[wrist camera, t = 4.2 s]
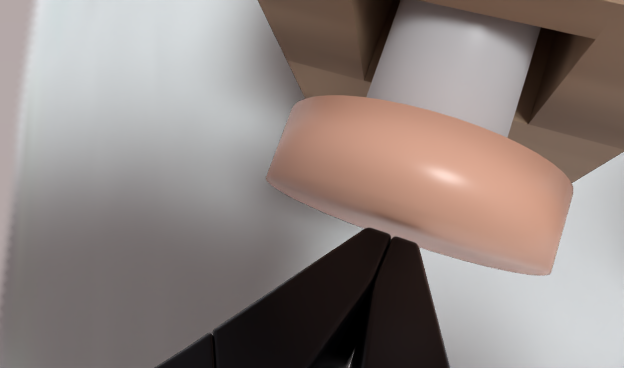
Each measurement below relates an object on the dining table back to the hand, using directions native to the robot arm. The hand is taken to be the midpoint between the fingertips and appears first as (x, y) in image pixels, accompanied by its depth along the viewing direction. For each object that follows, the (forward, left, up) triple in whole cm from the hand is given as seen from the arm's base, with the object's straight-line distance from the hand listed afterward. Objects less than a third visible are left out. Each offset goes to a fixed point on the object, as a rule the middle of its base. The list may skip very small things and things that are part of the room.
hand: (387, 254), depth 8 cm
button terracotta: (+4, +2, -2) cm, 5 cm away
